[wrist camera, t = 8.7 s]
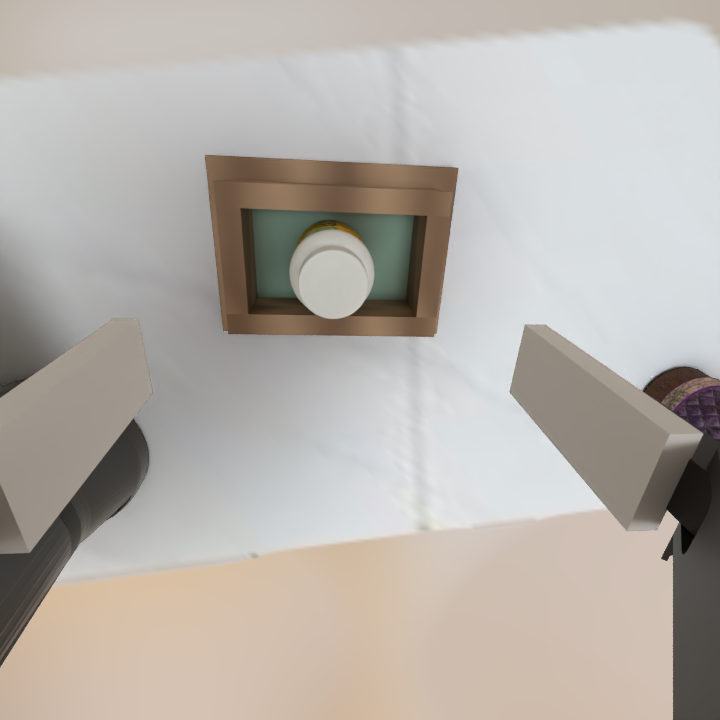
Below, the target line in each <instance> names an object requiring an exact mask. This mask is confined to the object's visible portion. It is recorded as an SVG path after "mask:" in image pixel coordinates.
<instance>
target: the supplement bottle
mask: <svg viewBox="0 0 720 720" xmlns="http://www.w3.org/2000/svg"><path fill="white" fill-rule="evenodd" d="M289 275H290V282H291V286H292V288H293V291H294V293H295V295H296V296H297V298H298V299H299V300H300V301H301V302H302V303H303V304H304V305H305V306H306V307H307V308H308V309H309V310H310V311H312V312H313V313H314V314H316V315H318V316H321V317H323V318H328V319H339V318H344V317H347V316H349V315H351V314H353V313H354V312H355V311H356V310H358V309H359V308H360V307H361V305H362V304H363V302H364V301H365V299H366V298H367V297H368V295H369V293H370V291H371V289H372V286H373V282H374V275H375V272H374V264H373V260H372V257H371V255H370V253H369V251H368V249H367V247H366V246H365V244H364V243H363V241H362V239H361V237H360V236H359V234H358V233H357V232H356V231H355V230H354V229H353V228H352V227H351V226H349V225H348V224H346V223H343V222H341V221H336V220H322V221H319V222H316V223H314V224H312V225H311V226H310V227H308V228H307V229H306V230H305V231H304V232H303V234H302V235H301V237H300V239H299V240H298V243H297V246H296V248H295V251H294V253H293V256H292V259H291V262H290V269H289Z"/></svg>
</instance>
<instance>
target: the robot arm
mask: <svg viewBox="0 0 720 720" xmlns="http://www.w3.org/2000/svg"><path fill="white" fill-rule="evenodd" d="M152 393H153V391H152V385H151V380H150V375H149V370H148V365H147V360H146V355H145V350H144V345H143V339H142V334H141V329H140V324H139V319H112V320H111V321H109V322H108V323H107V324H105V325H104V326H102V327H101V328H99V329H98V330H97V331H95V332H94V333H92V334H91V335H89V336H88V337H87V338H85V339H84V340H82V341H81V342H79V343H78V344H77V345H75V346H74V347H72V348H71V349H69V350H68V351H67V352H65V353H64V354H62V355H61V356H59V357H58V358H57V359H55V360H54V361H52V362H51V363H49V364H48V365H47V366H45V367H44V368H42V369H41V370H39V371H38V372H37V373H35V374H34V375H32V376H31V377H29V378H28V379H26V380H20V381H16V382H13V383H9V384H7V385H4V386H2V387H0V667H1V665H2V664H3V662H4V660H5V659H6V657H7V656H8V654H9V653H10V651H11V649H12V648H13V646H14V645H15V643H16V642H17V640H18V638H19V637H20V635H21V634H22V632H23V631H24V629H25V627H26V626H27V624H28V623H29V621H30V619H31V618H32V616H33V615H34V613H35V612H36V610H37V608H38V607H39V606H40V604H41V602H42V601H43V599H44V598H45V596H46V595H47V593H48V591H49V590H50V588H51V587H52V585H53V584H54V582H55V580H56V579H57V577H58V576H59V574H60V573H61V571H62V569H63V568H64V566H65V565H66V563H67V562H68V560H69V559H70V557H71V556H72V554H73V553H74V551H75V550H76V548H77V547H78V545H79V544H80V543H81V542H82V541H84V540H85V539H86V538H87V537H88V536H89V535H91V534H92V533H93V532H94V531H95V530H96V529H97V528H98V527H99V526H100V525H101V524H102V523H104V522H105V521H106V520H108V519H109V518H111V517H113V516H114V515H116V514H117V513H118V512H120V511H121V510H122V509H123V508H124V507H125V506H126V505H127V504H128V503H129V502H130V501H131V499H132V498H133V497H134V495H135V494H136V492H137V490H138V488H139V487H140V485H141V483H142V482H143V480H144V478H145V476H146V473H147V469H148V463H149V456H148V449H147V445H146V442H145V439H144V437H143V435H142V433H141V431H140V429H139V428H138V426H137V425H136V424H135V422H134V421H133V420H132V419H133V418H134V417H135V416H136V414H137V413H138V412H139V410H140V409H141V408H142V406H143V405H144V404H145V403H146V401H147V400H148V399H149V397H150V396H151V395H152ZM510 393H511V395H512V396H513V397H514V398H515V399H516V401H517V402H518V403H519V404H520V405H521V406H522V408H523V409H524V410H525V411H526V412H527V414H528V415H529V416H530V417H531V418H532V419H533V421H534V422H535V423H536V424H537V425H538V427H539V428H540V429H541V430H542V431H543V433H544V434H545V435H546V436H547V437H548V438H549V440H550V441H551V442H552V443H553V444H554V446H555V447H556V448H557V449H558V450H559V451H560V453H561V454H562V455H563V456H564V457H565V459H566V460H567V461H568V462H569V463H570V464H571V466H572V467H573V468H574V469H575V470H576V472H577V473H578V474H579V475H580V476H581V478H582V479H583V480H584V481H585V482H586V483H587V485H588V486H589V487H590V488H591V489H592V491H593V492H594V493H595V494H596V495H597V496H598V498H599V499H600V500H601V501H602V502H603V504H604V505H605V506H606V507H607V508H608V510H609V511H610V512H611V513H612V514H613V515H614V517H615V518H616V519H617V520H618V521H619V523H620V524H621V525H622V526H623V527H624V528H625V530H626V531H649V530H657V529H658V527H659V525H660V523H661V521H662V519H663V517H664V515H665V513H666V511H667V510H668V511H669V512H670V513H671V514H672V515H673V516H674V517H675V518H676V519H677V520H678V521H679V524H678V526H677V528H676V530H675V532H674V534H673V536H672V538H671V540H670V542H669V544H668V546H667V548H666V549H665V551H664V554H663V556H662V559H663V560H665V561H667V560H668V558H669V556H671V555H673V720H720V443H719V442H718V441H716V440H715V439H714V438H712V437H711V436H709V435H708V434H706V433H705V432H703V431H702V430H700V429H699V428H697V427H696V426H694V425H693V424H692V423H690V422H689V421H687V420H686V419H684V418H683V417H679V415H678V414H677V413H675V412H674V411H673V410H671V409H670V408H666V406H665V405H664V404H662V403H661V402H659V401H658V400H656V399H655V398H654V397H652V396H650V395H648V394H646V393H644V392H642V391H641V390H639V389H638V388H637V387H635V386H634V385H632V384H631V383H629V382H628V381H626V380H625V379H623V378H622V377H621V376H619V375H618V374H616V373H615V372H613V371H612V370H610V369H609V368H608V367H606V366H605V365H603V364H602V363H600V362H599V361H597V360H596V359H594V358H593V357H592V356H590V355H589V354H587V353H586V352H584V351H583V350H581V349H580V348H578V347H577V346H576V345H574V344H573V343H571V342H570V341H568V340H567V339H565V338H564V337H563V336H561V335H560V334H558V333H557V332H555V331H554V330H552V329H551V328H549V327H548V326H547V325H526V324H525V327H524V331H523V335H522V340H521V344H520V349H519V353H518V357H517V362H516V366H515V370H514V375H513V379H512V384H511V388H510Z"/></svg>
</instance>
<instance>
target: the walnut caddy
mask: <svg viewBox="0 0 720 720" xmlns="http://www.w3.org/2000/svg"><path fill="white" fill-rule="evenodd" d="M205 160H206V169H207V179H208V188H209V198H210V208H211V217H212V227H213V236H214V246H215V255H216V265H217V275H218V284H219V294H220V303H221V313H222V322H223V331H228V334H268V335H342V336H416V337H434V334H436V333H437V325H438V318H439V310H440V303H441V295H442V288H443V280H444V272H445V265H446V257H447V250H448V242H449V235H450V227H451V220H452V212H453V205H454V197H455V190H456V182H457V175H458V168H449V167H430V166H410V165H391V164H371V163H352V162H332V161H313V160H293V159H274V158H254V157H235V156H215V155H205ZM322 220H336V221H341V222H343V223H346V224H348V225H349V226H351V227H352V228H353V229H354V230H355V231H356V232H357V233H358V234H359V236H360V237H361V239H362V241H363V243H364V244H365V246H366V247H367V249H368V251H369V253H370V255H371V257H372V260H373V264H374V272H375V275H374V282H373V286H372V289H371V291H370V293H369V295H368V297H367V298H366V299H365V301H364V302H363V304H362V305H361V307H360V308H359V309H358V310H356V311H355V312H354V313H353V314H351V315H349V316H347V317H344V318H339V319H328V318H323V317H321V316H318V315H316V314H314V313H313V312H312V311H310V310H309V309H308V308H307V307H306V306H305V305H304V304H303V303H302V302H301V301H300V300H299V299H298V298H297V296H296V295H295V293H294V291H293V288H292V286H291V282H290V275H289V269H290V262H291V259H292V256H293V253H294V251H295V248H296V246H297V243H298V240H299V239H300V237H301V235H302V234H303V232H304V231H305V230H306V229H307V228H308V227H310V226H311V225H312V224H314V223H316V222H319V221H322Z"/></svg>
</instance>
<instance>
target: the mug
mask: <svg viewBox="0 0 720 720" xmlns="http://www.w3.org/2000/svg"><path fill="white" fill-rule="evenodd" d="M644 393H646V394H648V395H650V396H652V397H654V398H655V399H656V400H658V401H659V402H661V403H662V404H664V405H665V406H666V408H670V409H671V410H673V411H674V412H675V413H677V414H678V415H679V417H683V418H684V419H686V420H687V421H689V422H690V423H692V424H693V425H694V426H696V427H697V428H699V429H700V430H702V431H703V432H705V433H706V434H708V435H709V436H711V437H712V438H714V439H715V440H716V441H718V442H719V443H720V380H718V379H715V378H711V377H710V376H708V375H706V374H705V373H703V372H701V371H700V370H698V369H694V368H689V367H688V368H678V369H675V370H672V371H669V372H667V373H665V374H663V375H661V376H660V377H658V378H657V379H655V380H654V381H653V382H652V383H651V384H650V385H649V386H648V388H647V389H646V391H645V392H644Z"/></svg>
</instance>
